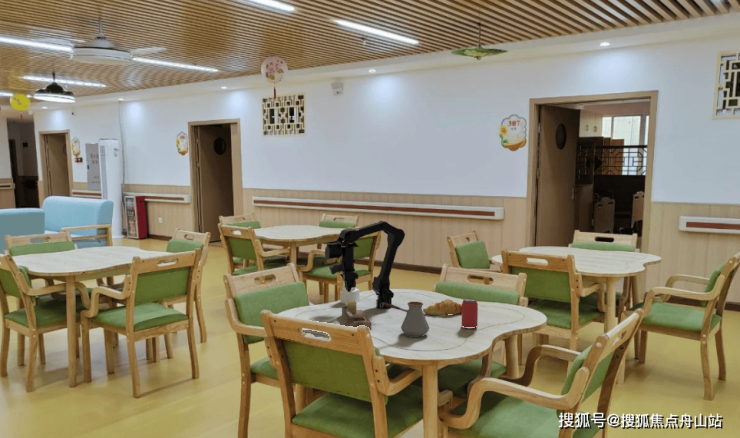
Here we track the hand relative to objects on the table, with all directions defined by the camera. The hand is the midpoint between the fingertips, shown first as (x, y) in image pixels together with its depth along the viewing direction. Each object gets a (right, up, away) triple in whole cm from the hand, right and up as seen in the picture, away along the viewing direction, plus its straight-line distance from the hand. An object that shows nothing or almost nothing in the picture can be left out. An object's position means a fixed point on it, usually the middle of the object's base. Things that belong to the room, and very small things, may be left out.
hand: (348, 290), depth 256 cm
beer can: (+52, -13, -19) cm, 57 cm away
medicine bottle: (0, -9, +20) cm, 22 cm away
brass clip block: (+2, -9, -6) cm, 11 cm away
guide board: (+4, -12, -13) cm, 18 cm away
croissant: (+45, -11, +3) cm, 46 cm away
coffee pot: (+24, -14, -31) cm, 42 cm away
